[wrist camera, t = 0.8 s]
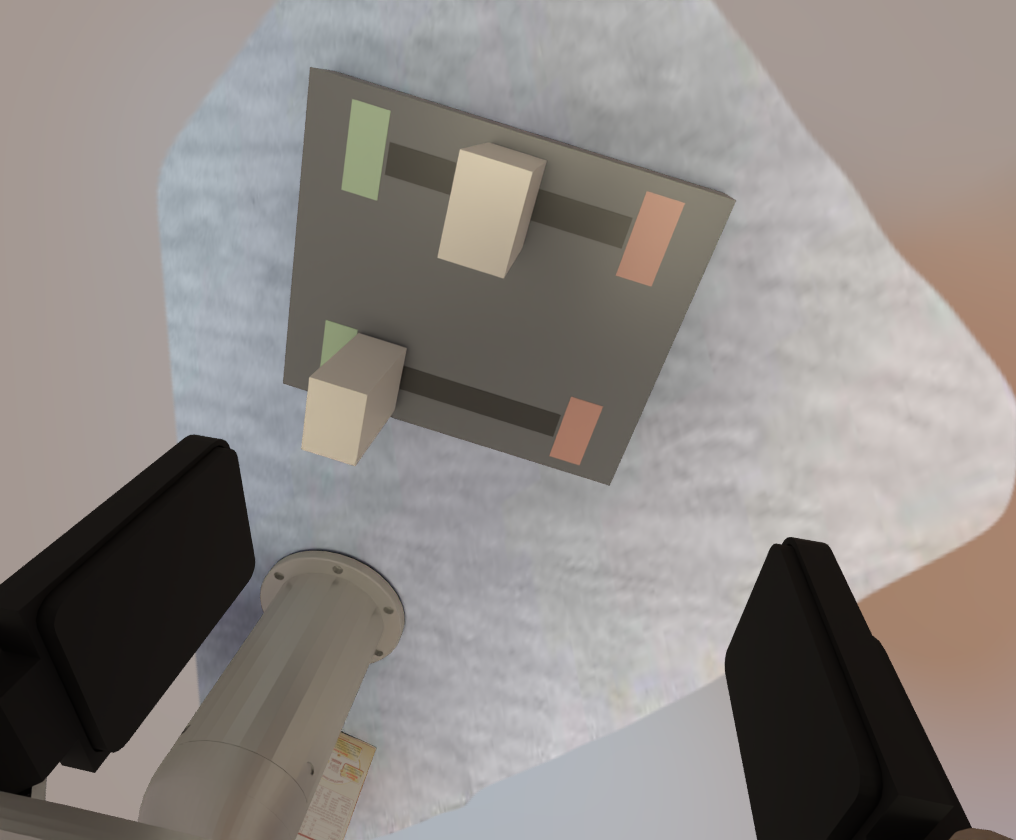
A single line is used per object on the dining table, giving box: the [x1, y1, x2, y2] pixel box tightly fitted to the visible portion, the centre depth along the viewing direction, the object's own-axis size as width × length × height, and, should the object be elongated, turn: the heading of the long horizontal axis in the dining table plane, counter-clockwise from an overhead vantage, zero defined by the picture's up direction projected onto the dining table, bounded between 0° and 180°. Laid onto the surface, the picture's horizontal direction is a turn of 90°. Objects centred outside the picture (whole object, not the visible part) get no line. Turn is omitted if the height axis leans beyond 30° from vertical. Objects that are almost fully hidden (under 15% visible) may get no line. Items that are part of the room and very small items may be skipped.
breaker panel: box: [283, 67, 736, 486], centre depth 34 cm, size 18×22×3 cm
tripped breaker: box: [437, 142, 547, 278], centre depth 27 cm, size 4×3×7 cm
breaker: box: [301, 333, 407, 466], centre depth 33 cm, size 4×3×7 cm
